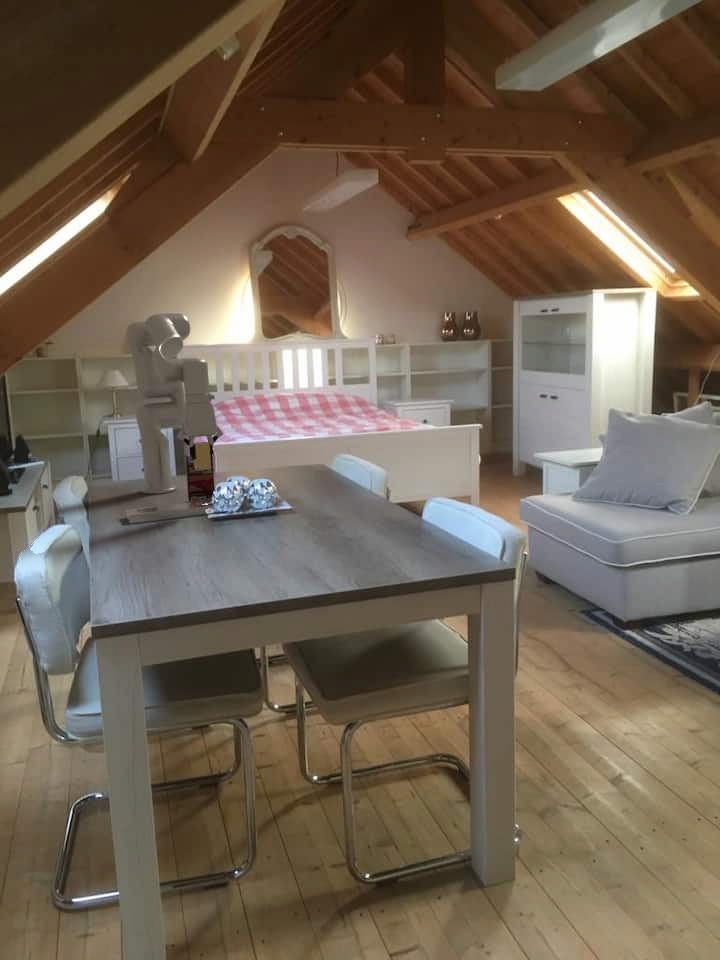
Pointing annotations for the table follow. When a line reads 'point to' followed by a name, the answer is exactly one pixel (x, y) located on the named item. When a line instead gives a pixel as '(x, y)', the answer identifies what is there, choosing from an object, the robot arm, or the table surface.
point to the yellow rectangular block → (202, 456)
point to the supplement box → (199, 481)
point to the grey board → (168, 511)
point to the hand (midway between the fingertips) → (201, 457)
